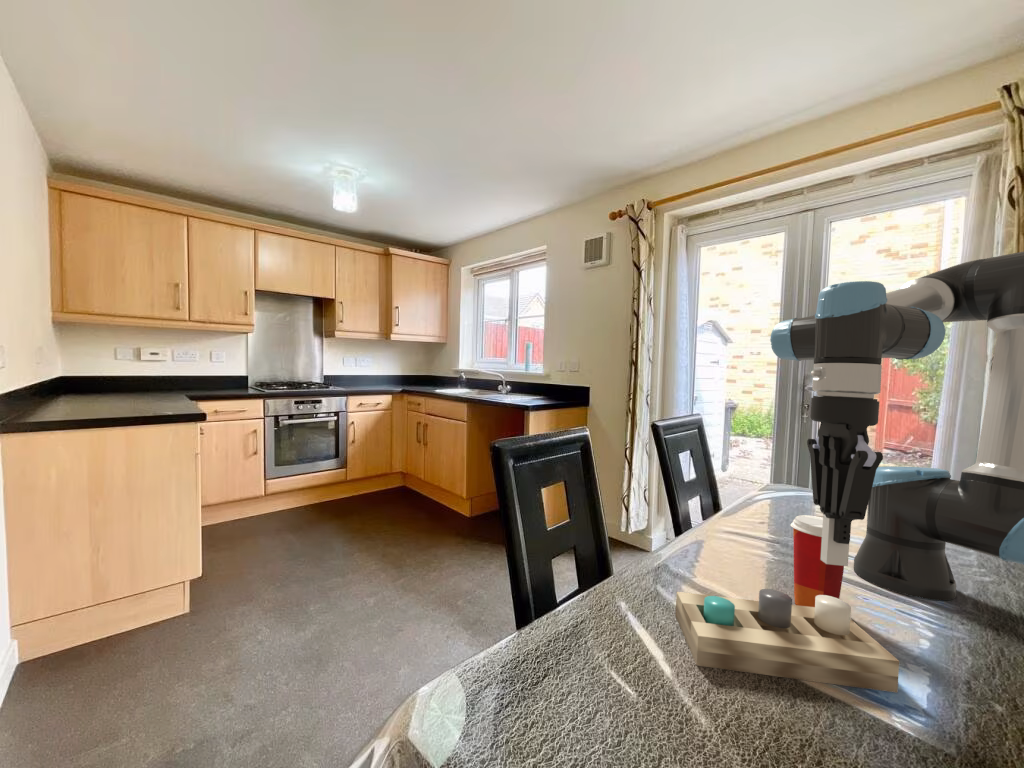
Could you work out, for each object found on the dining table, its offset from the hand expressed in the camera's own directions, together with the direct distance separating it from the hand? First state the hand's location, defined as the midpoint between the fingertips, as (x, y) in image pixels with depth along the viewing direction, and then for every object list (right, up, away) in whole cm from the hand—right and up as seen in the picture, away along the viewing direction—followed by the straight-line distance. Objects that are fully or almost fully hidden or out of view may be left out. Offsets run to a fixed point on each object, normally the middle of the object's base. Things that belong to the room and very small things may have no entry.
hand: (833, 562), depth 60 cm
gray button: (-8, -9, +1) cm, 12 cm away
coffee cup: (+7, -14, +14) cm, 21 cm away
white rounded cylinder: (0, -9, 0) cm, 9 cm away
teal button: (-15, -10, +2) cm, 18 cm away
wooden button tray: (-8, -13, +1) cm, 15 cm away
